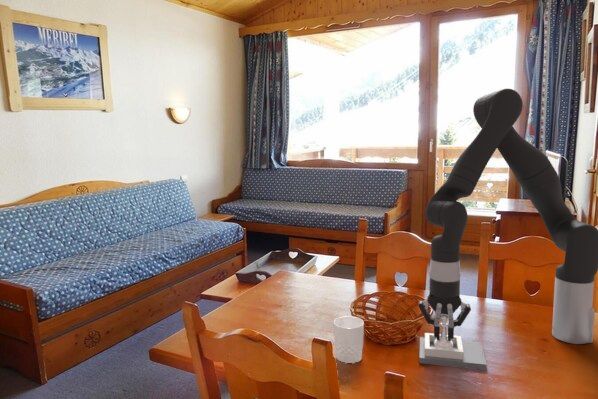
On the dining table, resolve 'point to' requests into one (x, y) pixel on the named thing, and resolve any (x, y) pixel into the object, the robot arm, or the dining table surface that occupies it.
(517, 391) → the dining table surface
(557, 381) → the dining table surface
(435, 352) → the socket board
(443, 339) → the chess piece
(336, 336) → the white cup
